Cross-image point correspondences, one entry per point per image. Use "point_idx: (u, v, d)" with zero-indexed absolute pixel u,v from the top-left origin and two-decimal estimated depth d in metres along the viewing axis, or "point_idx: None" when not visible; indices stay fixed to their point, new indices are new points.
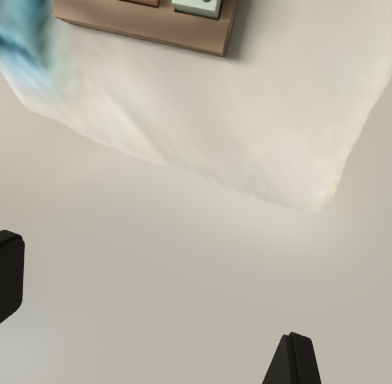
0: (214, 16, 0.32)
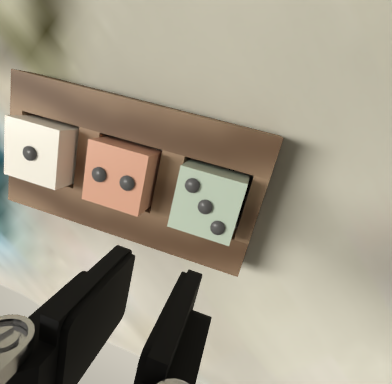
0: None
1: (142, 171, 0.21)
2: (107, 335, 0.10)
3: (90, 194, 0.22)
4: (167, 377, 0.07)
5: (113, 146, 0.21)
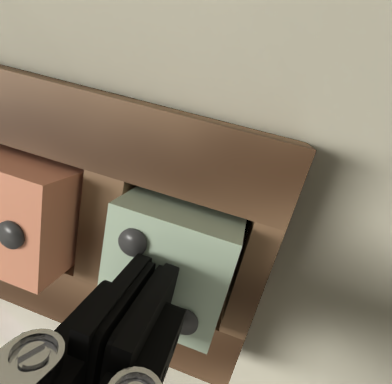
0: None
1: (35, 214, 0.11)
2: None
3: None
4: (134, 366, 0.07)
5: None
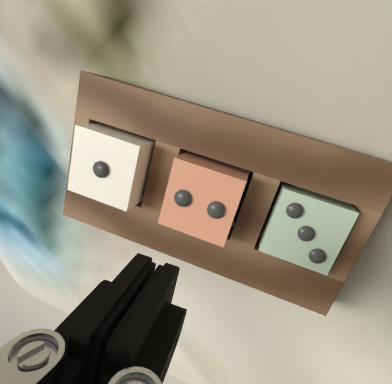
0: None
1: (237, 198, 0.18)
2: None
3: (169, 219, 0.20)
4: (133, 366, 0.07)
5: (204, 167, 0.18)
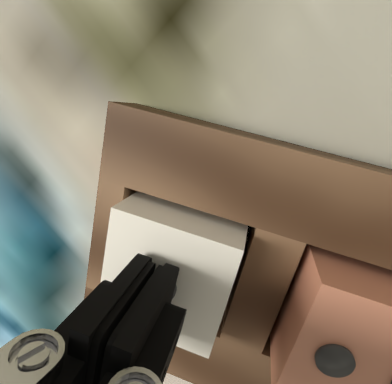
0: None
1: None
2: None
3: None
4: (134, 366, 0.07)
5: None
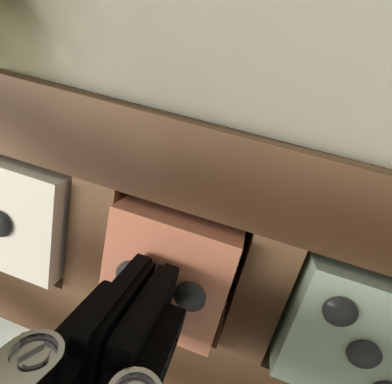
0: None
1: (226, 277, 0.10)
2: None
3: None
4: (134, 366, 0.07)
5: (164, 224, 0.10)
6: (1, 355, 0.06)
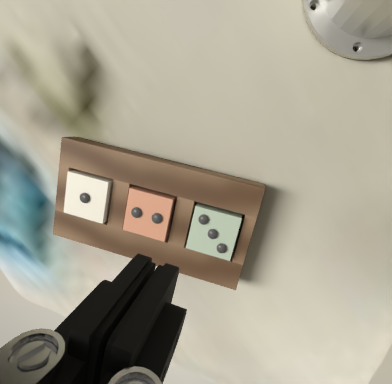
0: None
1: (168, 210, 0.30)
2: None
3: (129, 226, 0.31)
4: (134, 366, 0.07)
5: (147, 193, 0.30)
6: (1, 355, 0.06)
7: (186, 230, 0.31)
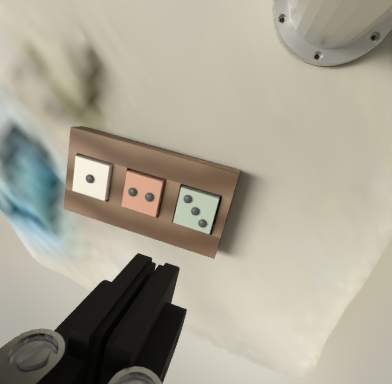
0: None
1: (158, 190, 0.36)
2: None
3: (126, 203, 0.37)
4: (133, 366, 0.07)
5: (141, 175, 0.36)
6: (1, 355, 0.06)
7: (174, 208, 0.36)
